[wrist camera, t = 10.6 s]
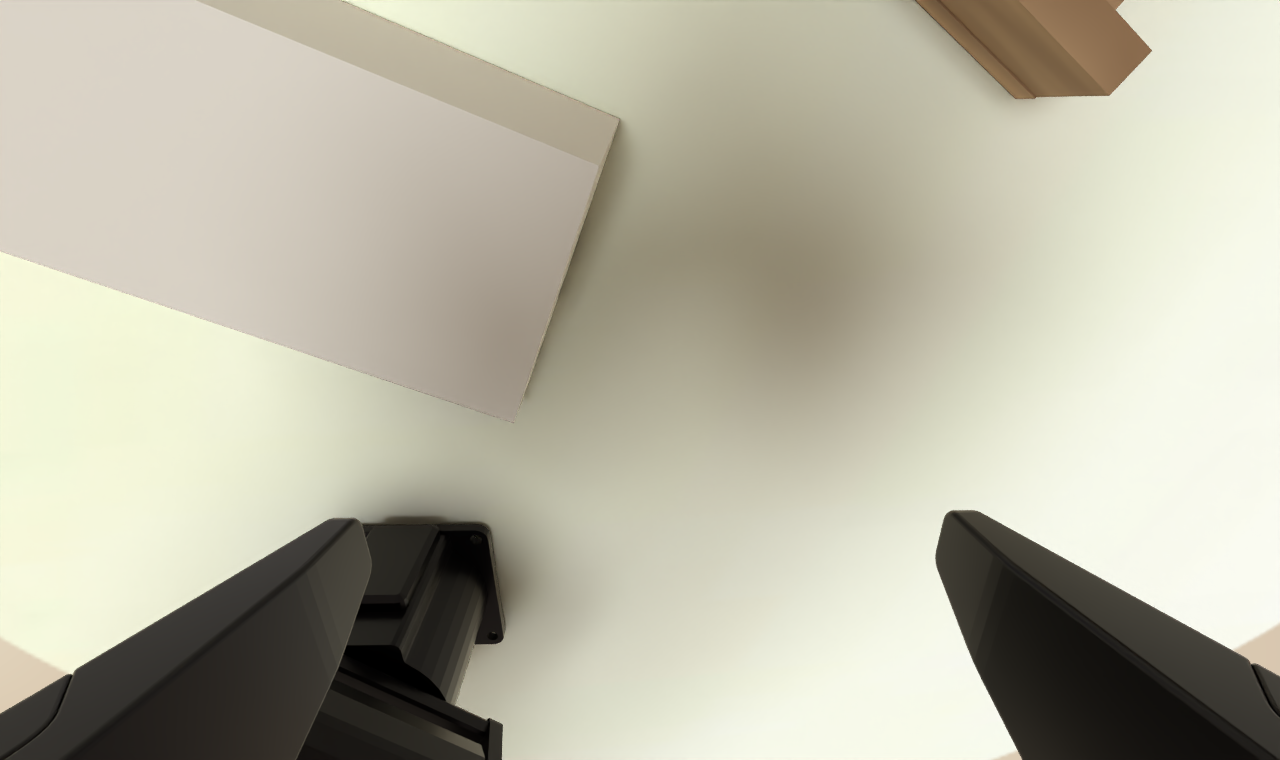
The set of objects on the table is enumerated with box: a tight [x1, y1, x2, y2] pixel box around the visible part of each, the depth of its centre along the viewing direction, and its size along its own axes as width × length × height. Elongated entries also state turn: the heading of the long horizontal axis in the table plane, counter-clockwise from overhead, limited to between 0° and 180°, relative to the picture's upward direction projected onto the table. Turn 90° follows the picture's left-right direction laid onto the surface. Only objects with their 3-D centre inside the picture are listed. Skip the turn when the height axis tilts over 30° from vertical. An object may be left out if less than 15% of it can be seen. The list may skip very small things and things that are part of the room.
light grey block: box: [0, 0, 620, 423], centre depth 18 cm, size 34×5×10 cm
